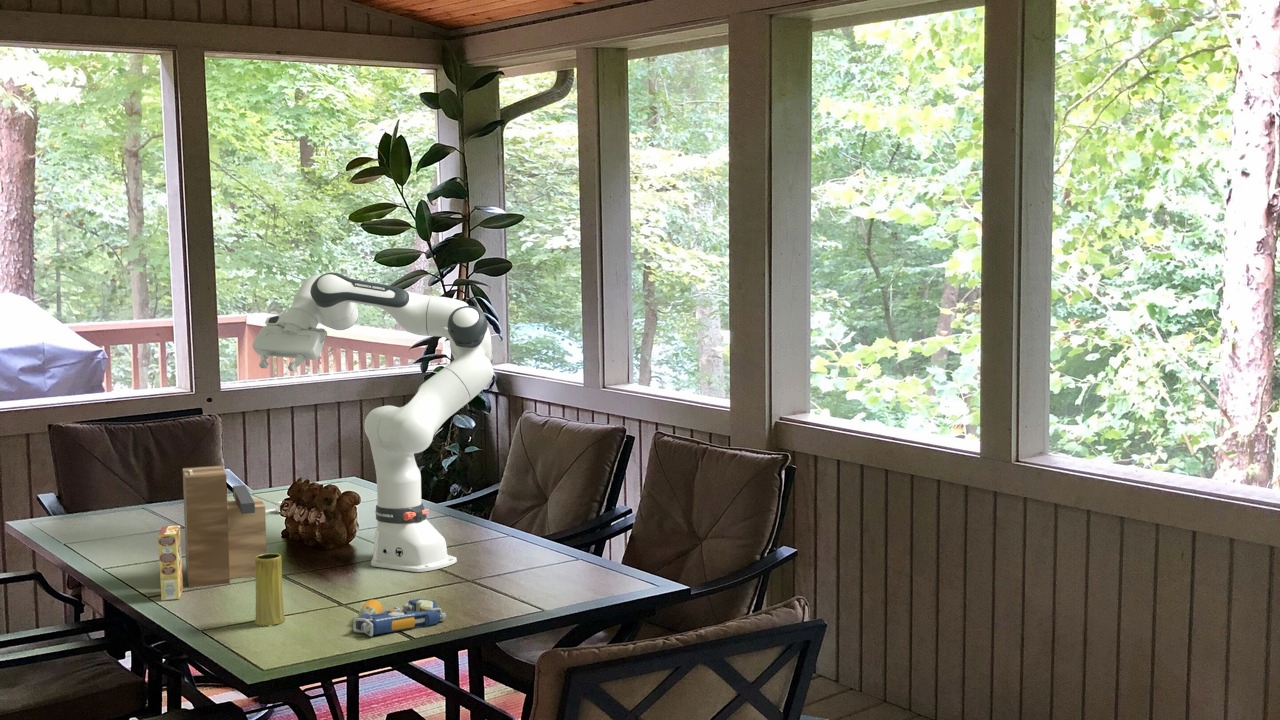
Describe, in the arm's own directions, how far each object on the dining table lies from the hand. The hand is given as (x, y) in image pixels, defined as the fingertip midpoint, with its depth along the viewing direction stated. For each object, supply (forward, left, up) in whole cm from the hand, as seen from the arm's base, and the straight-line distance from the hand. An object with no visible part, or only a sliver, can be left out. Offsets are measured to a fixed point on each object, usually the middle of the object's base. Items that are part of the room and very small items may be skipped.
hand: (276, 368), depth 325 cm
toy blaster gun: (-79, +30, -48) cm, 97 cm away
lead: (-18, +24, -31) cm, 43 cm away
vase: (-57, +46, -48) cm, 87 cm away
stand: (-17, +29, -48) cm, 58 cm away
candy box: (-22, +46, -48) cm, 70 cm away
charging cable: (+34, -19, -48) cm, 62 cm away
